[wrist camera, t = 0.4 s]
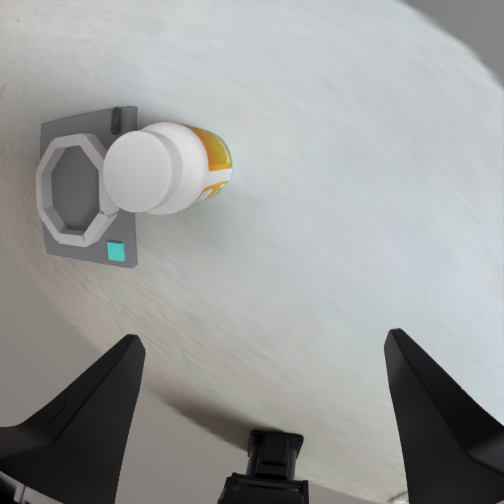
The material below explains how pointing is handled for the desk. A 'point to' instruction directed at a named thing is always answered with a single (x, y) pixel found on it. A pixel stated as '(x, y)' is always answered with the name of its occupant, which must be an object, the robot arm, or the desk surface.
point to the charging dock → (84, 189)
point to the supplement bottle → (166, 168)
